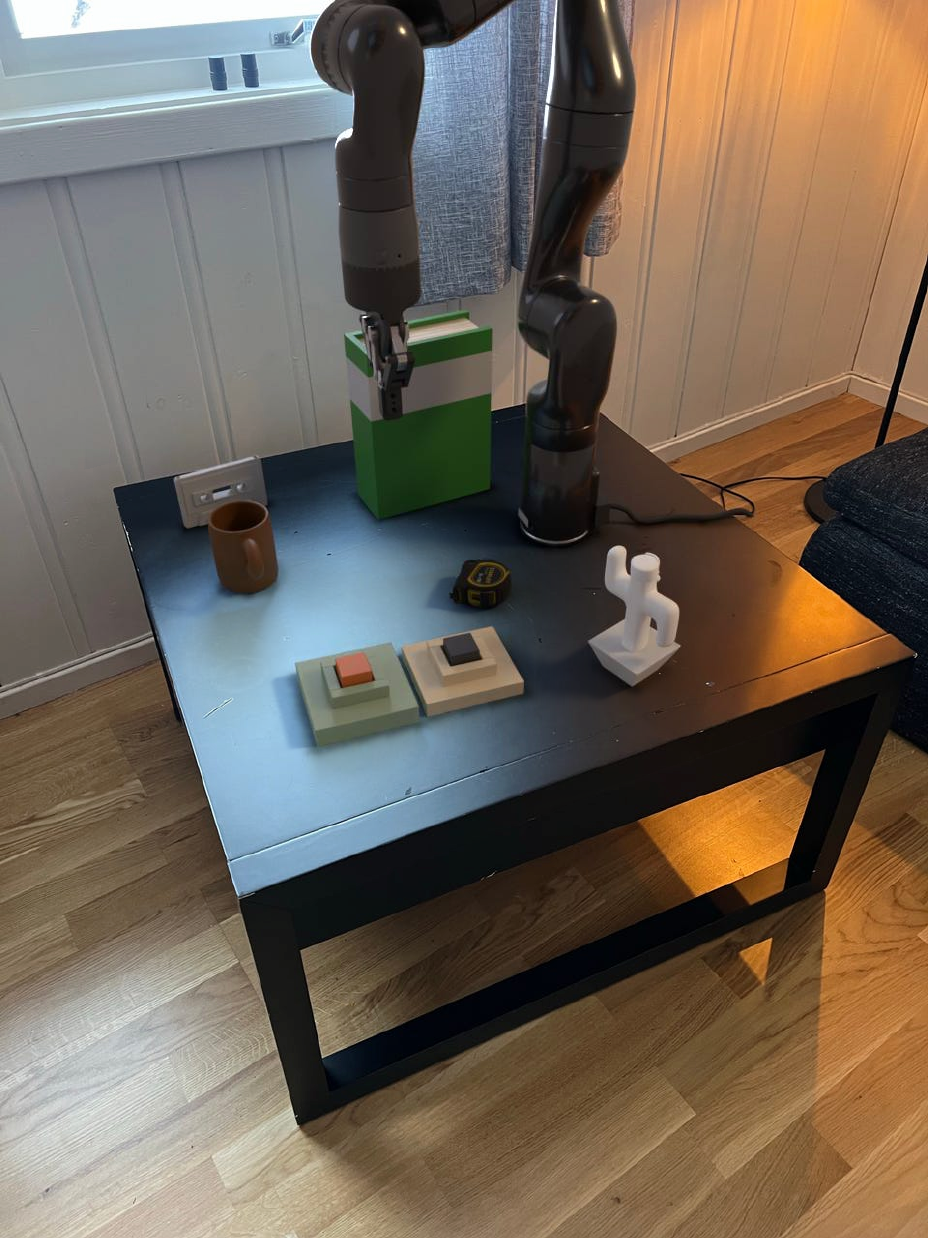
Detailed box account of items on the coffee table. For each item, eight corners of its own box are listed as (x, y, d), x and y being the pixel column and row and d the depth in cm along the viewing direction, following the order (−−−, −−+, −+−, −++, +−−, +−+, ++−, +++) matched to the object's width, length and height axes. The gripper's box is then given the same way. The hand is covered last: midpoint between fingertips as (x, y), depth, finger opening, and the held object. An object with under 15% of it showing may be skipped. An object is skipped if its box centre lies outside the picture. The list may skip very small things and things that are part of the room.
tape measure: (464, 576, 119) (464, 552, 117) (516, 585, 117) (517, 561, 115) (449, 608, 114) (448, 584, 111) (503, 618, 112) (504, 593, 110)
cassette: (264, 500, 133) (257, 453, 128) (269, 506, 132) (261, 458, 127) (182, 524, 128) (171, 475, 124) (186, 530, 127) (175, 482, 122)
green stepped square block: (392, 657, 107) (390, 630, 104) (419, 722, 99) (418, 695, 96) (297, 678, 104) (293, 651, 102) (317, 747, 96) (313, 719, 93)
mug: (296, 607, 114) (287, 543, 108) (234, 623, 112) (221, 559, 106) (270, 555, 123) (260, 493, 117) (213, 569, 120) (200, 507, 114)
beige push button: (492, 638, 109) (492, 615, 107) (523, 694, 102) (524, 670, 100) (401, 658, 107) (400, 635, 104) (427, 717, 99) (426, 693, 97)
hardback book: (466, 466, 141) (466, 309, 126) (490, 488, 136) (492, 328, 120) (358, 494, 134) (343, 333, 119) (378, 519, 129) (366, 354, 114)
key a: (470, 642, 104) (470, 632, 103) (479, 660, 102) (479, 650, 101) (442, 648, 103) (442, 638, 102) (451, 667, 101) (451, 656, 100)
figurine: (641, 705, 101) (659, 595, 91) (578, 661, 106) (588, 553, 97) (684, 675, 104) (705, 566, 95) (620, 634, 110) (635, 527, 100)
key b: (365, 662, 101) (364, 651, 100) (372, 681, 98) (371, 670, 97) (336, 669, 100) (334, 658, 99) (343, 688, 98) (341, 677, 97)
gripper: (438, 268, 85) (443, 438, 96) (398, 226, 95) (407, 385, 106) (358, 278, 83) (373, 451, 94) (326, 235, 93) (343, 396, 104)
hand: (391, 416), depth 100 cm, fingers closed
